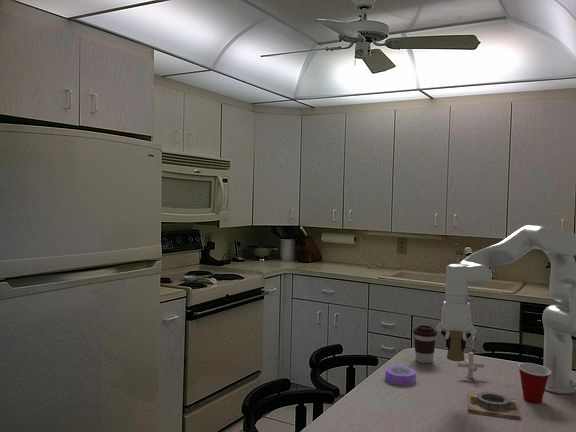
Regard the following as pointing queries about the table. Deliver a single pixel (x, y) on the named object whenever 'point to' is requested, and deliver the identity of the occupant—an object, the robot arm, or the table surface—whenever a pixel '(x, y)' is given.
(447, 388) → the table surface
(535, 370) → the plastic cup
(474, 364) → the pipe connector
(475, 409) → the socket
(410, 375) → the masking tape
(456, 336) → the olive knobbed peg
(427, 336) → the coffee cup
